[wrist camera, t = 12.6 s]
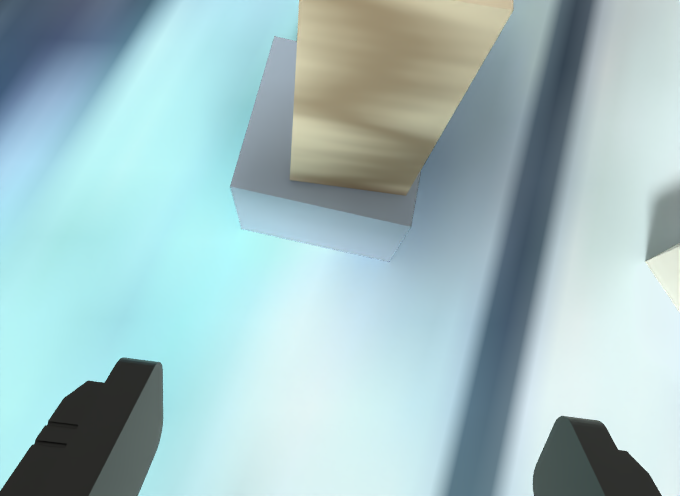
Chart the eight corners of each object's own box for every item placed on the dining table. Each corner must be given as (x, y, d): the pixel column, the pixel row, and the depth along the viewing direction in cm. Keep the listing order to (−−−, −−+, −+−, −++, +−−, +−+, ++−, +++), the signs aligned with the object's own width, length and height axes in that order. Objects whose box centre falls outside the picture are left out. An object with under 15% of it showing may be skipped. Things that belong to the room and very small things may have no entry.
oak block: (412, 95, 22) (512, -145, 13) (405, 195, 21) (513, 10, 11) (303, 79, 22) (323, -180, 12) (289, 179, 21) (300, -25, 11)
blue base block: (412, 133, 27) (437, 73, 23) (388, 263, 25) (411, 226, 20) (277, 102, 27) (274, 36, 23) (241, 230, 25) (230, 186, 20)
